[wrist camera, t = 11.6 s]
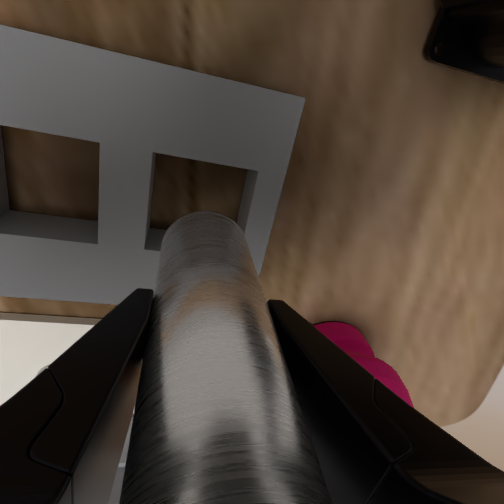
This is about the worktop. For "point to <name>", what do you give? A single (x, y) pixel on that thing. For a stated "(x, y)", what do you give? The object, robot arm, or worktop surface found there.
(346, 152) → the worktop surface
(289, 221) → the worktop surface
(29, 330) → the plate
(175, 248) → the pin
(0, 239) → the hole board
